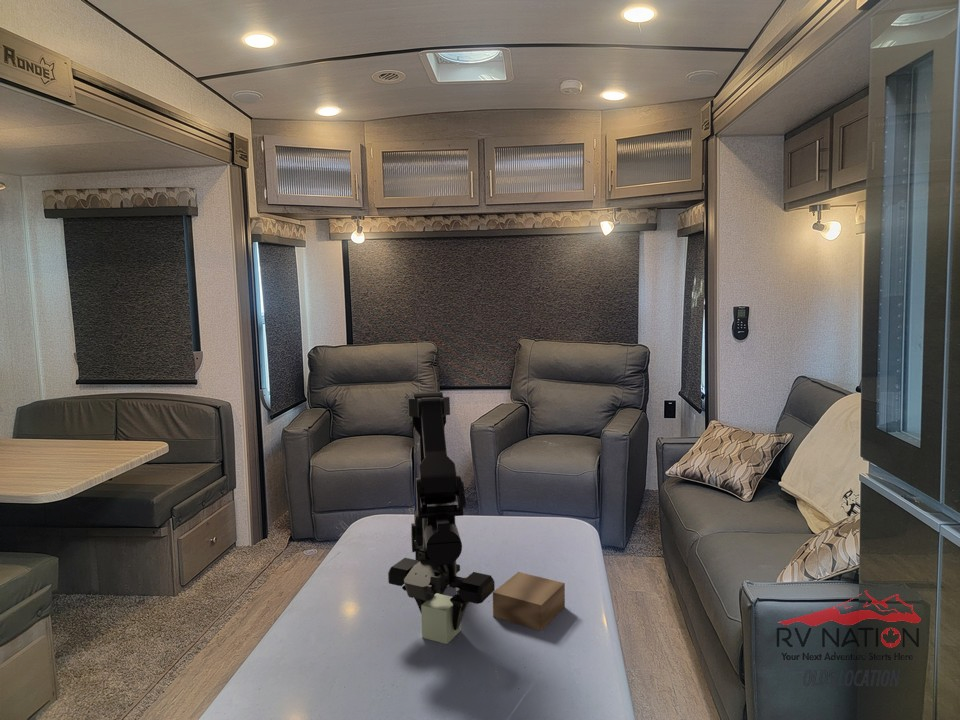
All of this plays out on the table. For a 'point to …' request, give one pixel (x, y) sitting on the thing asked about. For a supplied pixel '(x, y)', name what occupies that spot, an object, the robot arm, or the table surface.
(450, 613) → the sage block
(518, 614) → the walnut block
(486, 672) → the table surface
